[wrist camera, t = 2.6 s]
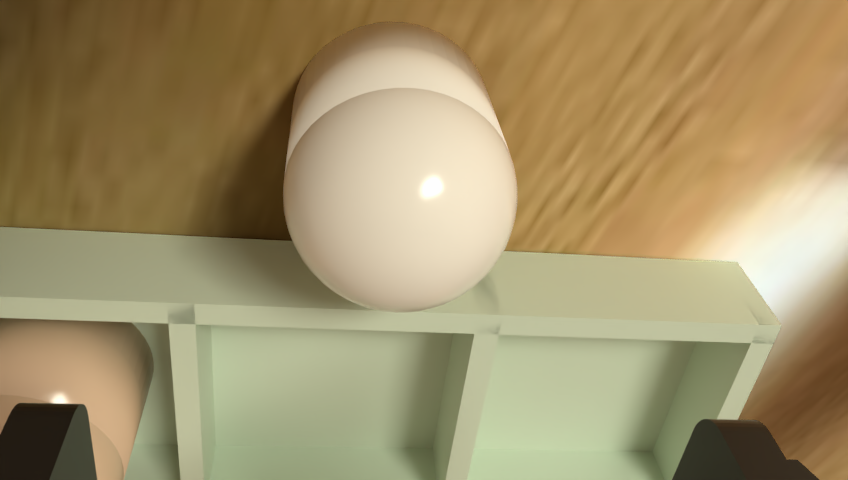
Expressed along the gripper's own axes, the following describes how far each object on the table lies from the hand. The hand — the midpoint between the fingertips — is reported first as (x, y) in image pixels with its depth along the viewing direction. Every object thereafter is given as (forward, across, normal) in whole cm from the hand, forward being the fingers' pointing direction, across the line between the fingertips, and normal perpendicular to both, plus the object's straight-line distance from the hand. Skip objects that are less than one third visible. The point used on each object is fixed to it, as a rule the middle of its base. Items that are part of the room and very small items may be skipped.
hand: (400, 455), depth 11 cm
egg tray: (+10, 0, +11) cm, 15 cm away
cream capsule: (+10, 0, 0) cm, 10 cm away
